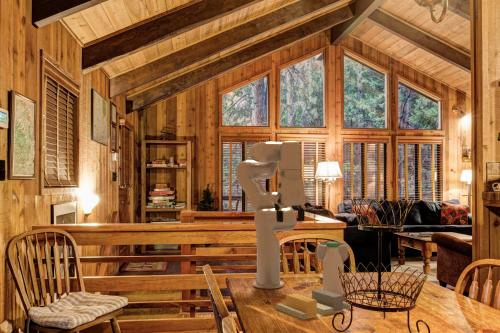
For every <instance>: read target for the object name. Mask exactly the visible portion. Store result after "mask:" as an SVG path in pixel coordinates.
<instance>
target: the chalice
mask: <svg viewBox="0 0 500 333" xmlns="http://www.w3.org/2000/svg"><path fill="white" fill-rule="evenodd" d="M327 242H328V241H327ZM327 242H326V241H325V242H320V243H318V245H317V247H316V257H317V259H318V260H319V261H321V262H322V263H323V262H324V259H325V256H326V254H327ZM338 243H339V249H338V250H339V254H340V257H341V259H342V262H343V263H344V262H345V261H347V259H348V258H349V249H348V247H347V245H346V243H343V242H338ZM318 278H320V279H322V280H323V274H320V275H318Z"/></svg>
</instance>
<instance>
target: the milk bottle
mask: <svg viewBox="0 0 500 333" xmlns="http://www.w3.org/2000/svg"><path fill="white" fill-rule="evenodd" d="M339 243H340V242H337V241H327V254H326V256H325V259H324V262H322V275H323V279H322V290H326V291H329V292H332V293H336V294H339V295H342V296H344V294H345V292H344V291H345V290H344V291H343V288H342V285H341V281H340V278H339V273H338V267H340V268H341V269H342V270H343V272H344V262H342V259H341V257H340V254H339V250H338V249H339Z"/></svg>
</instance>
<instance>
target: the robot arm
mask: <svg viewBox="0 0 500 333" xmlns="http://www.w3.org/2000/svg"><path fill="white" fill-rule="evenodd" d="M301 151H302V150H301V143H300V142H299V141H295V140H287V141H286V140H285V141H281V142H280V141H264V142H263V141H262V142H256V143H254V144H252V145H251V146H250V147H249V149H248V155H249V158H250V159H251V160H250V159H249V160H243V161H241V162H239V163H237V166H236V169H235V170H236V171H235V174H236V180H237V183H238V184H239V187H240V188H241V189H242V190H243V192H244V193H245V195H246V197H247V199H248V201H249V203H250V204H249V205H250V206H251V209H252V211H254V218H253V219H254V220H253V221H254V227H255V231H256V233H255V235H256V273H255V274H253V277H254V278H255V279H256V280H255V281H253V283H252V285H253V287H254V288H255V287H256V288H258V289H267V290H270V289H271V290H272V289H279V288H283V287H284V286H285V282H284V281H282V280H281V244H280V240H279V238H278V237H277V235H276V234H275V232H289V231H290V232H291V231H293V230H294V229H295V228H296V226H297V221H301V222H305V214H306V213H305V211H306V209H307V208H308V206H309V202H310V200H311V198H310V197H308V196H307V195H305V194H306V192H305V191H306V189H305V184H304V180H303V178H301V174H302V173H301V172H302V170H301V166H302V165H301V163H302V162H301V159H302V158H301V153H302V152H301ZM279 167H280V168H279ZM278 168H279V171H278V172H277V170H278ZM276 173H277V175H278V176H279V178H278V182H277V189H276V190H277V191H271V192H269V191H267V190H266V189H265V186H264V185H263V184H262V183H261V182H260V181H259V180H268V179H269V180H270V179H272V178H273V177H274V176H275V175H276ZM292 206H296V207H297V209H298V210H297V215H296V213H295V211H294V209H293V207H292Z"/></svg>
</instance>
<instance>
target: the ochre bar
mask: <svg viewBox="0 0 500 333" xmlns="http://www.w3.org/2000/svg"><path fill="white" fill-rule="evenodd" d="M285 305H286V306H288V307H291V308H294V309H296V310H299V311H302V312H304V313H306V314H307V316H312V315H317V300H315V299H312V297H309V296H305V295H302V294H299V293H296V292H294V293H289V294H285Z"/></svg>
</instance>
